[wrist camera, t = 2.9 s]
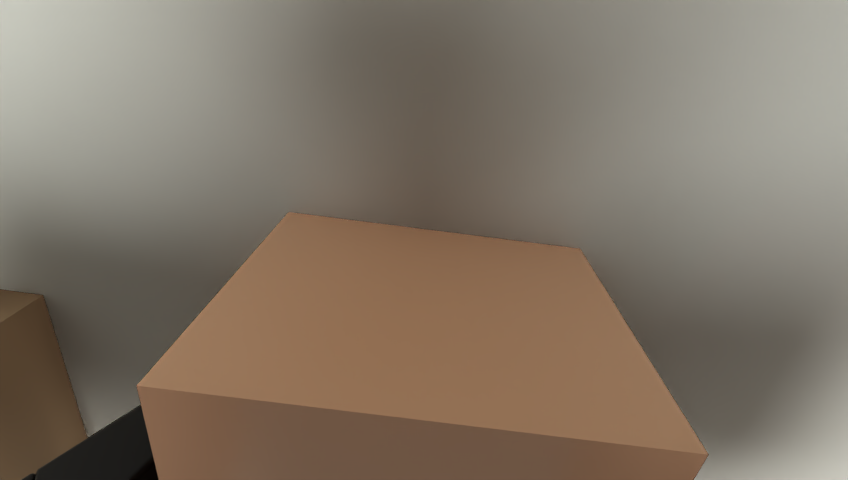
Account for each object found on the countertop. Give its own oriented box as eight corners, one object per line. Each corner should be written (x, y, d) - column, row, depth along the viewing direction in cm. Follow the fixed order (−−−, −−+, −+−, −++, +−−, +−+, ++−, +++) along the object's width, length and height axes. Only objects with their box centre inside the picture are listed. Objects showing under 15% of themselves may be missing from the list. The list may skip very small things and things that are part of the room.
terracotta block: (578, 245, 8) (708, 454, 4) (517, 443, 11) (562, 698, 7) (290, 209, 8) (135, 385, 4) (295, 416, 11) (201, 657, 6)
